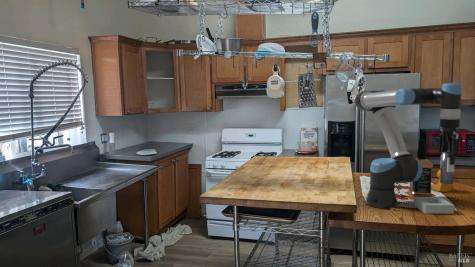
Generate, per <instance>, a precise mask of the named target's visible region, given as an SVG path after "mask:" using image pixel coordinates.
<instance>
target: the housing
mask: <svg viewBox="0 0 475 267" xmlns="http://www.w3.org/2000/svg"><path fill="white" fill-rule="evenodd" d="M412 199H413V198H412ZM412 202H413V203H412V205H413V206H414V207H416V208H417V209H419V211H421V212H422V213H424V214H427V215H428V214H440V215H441V214H443V215H444V214H446V215H447V214H455V205H454V204H453V203H452V202H449V201H447V200H446V199H445V198H443V197H441V196H432V197H414V199H413V201H412Z"/></svg>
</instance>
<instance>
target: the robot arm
mask: <svg viewBox="0 0 475 267" xmlns="http://www.w3.org/2000/svg"><path fill="white" fill-rule="evenodd" d="M462 89H463V87H462V84H461V83H459V82H457V83H456V82H452V83H451V82H450V83H449V82H447V83H442V85H441V87H427V88H426V87H422V88H421V87H419V88H415V87H414V88H412V87H411V88H410V87H403V88H399V89H393V90H392V89H391V90H385V89H381V90H362V91H360V92H359V93H357V95H355V98H354V105H355V106H356V108H357V109H358V110H360V111H362V112H372V114H373V116H374V117H375V118H377V120H378V123H379V126H380V128H381V133H382V135H383V137H384V140H385V143H386V146H387V148H388V152H389V154H390V157H388V158H387V157H385V158H384V157H381V158H375V159H374V160H372V162H371V164H370V169H369V170H370V171H369V172H370V175H369V177H370V180H369V182H370V183H369V190H368V193H367V195H366V199H365V203H366V204H367V205H368V206H370V207H373V208H377V209H391V208H393V207H397V206H398V198H397V195H396V191H395V184H405V183H406V184H407V183H409V184H410V182H414V181H417V180H418V179H419V178H420V177H421V174H422V165H421V163H420V162H419V161H418V160H416V159H415V158H414V156H413V154H412V153H410V152H409V151H408V149H407V146H406V143H405V140H404V138H403V135H402V132H401V130H400V128H399V125H398V122H397V119H396V117H395V113H394V112H395V111H396V107H398V106H416V105H418V106H419V105H421V106H422V105H440V111H439V112H440V115H439V116H440V120H439V127H440V128H442V130H439V131H438V150H437V152H438V153H440V157H441V156H442V151H449V156H447V157H448V160H447V172H454V173H455V165H456V158H458V157H459V153H460V151H459V150H460V138H461V134H460V133H457V129H459V128H460V125H461V123H460V122H461V119H460V118H461V112H462V111H461V105H462V94H463V93H462V92H463V91H462ZM439 170H441V165H440V169H439Z"/></svg>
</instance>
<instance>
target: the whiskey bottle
mask: <svg viewBox="0 0 475 267" xmlns="http://www.w3.org/2000/svg"><path fill="white" fill-rule="evenodd" d="M417 144H418V145H417V146H418V148H417V151H416V158H414V159H416V160H418V161H419V162H420V163H421V165H422V174H421V177H420V178H419V179H418V180H417V181H414V182H410V183H409V188H408V197H410V198H411V199H414V197H433V194H432V189H431V185H432V174H433V173H432V172H433V170H432V169H433V168H434V167H433V166H434V164H433V163H432V162H431V161H430V160H429V159H427V153H428V152H427V140H426V139H418V143H417Z"/></svg>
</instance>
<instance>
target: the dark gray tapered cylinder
mask: <svg viewBox="0 0 475 267" xmlns="http://www.w3.org/2000/svg"><path fill="white" fill-rule="evenodd" d="M447 156H449V150H448V151H442V156H441V155H440V166H441V169H440V170H441V174H440V183H443V184H453V185H454V173H455V171H454V172H447V160H448V157H447Z"/></svg>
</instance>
